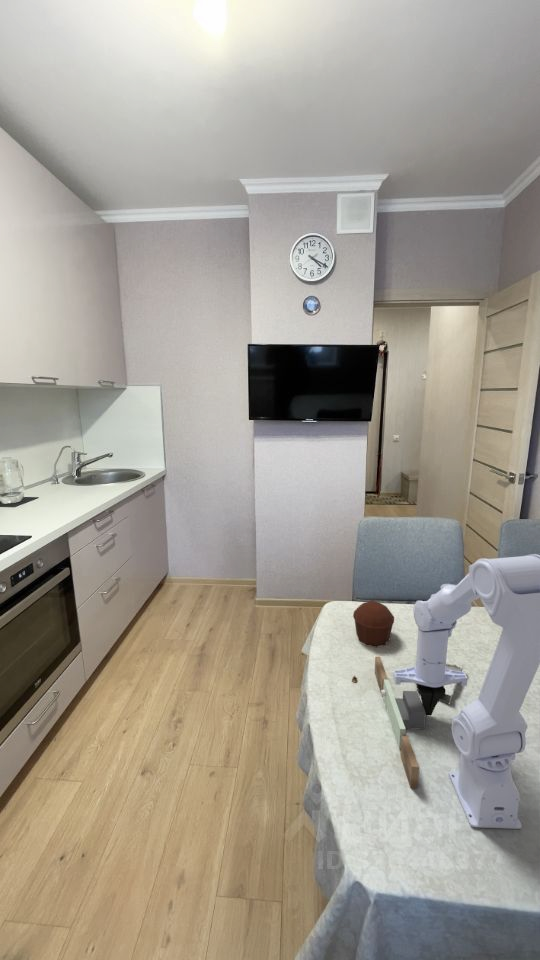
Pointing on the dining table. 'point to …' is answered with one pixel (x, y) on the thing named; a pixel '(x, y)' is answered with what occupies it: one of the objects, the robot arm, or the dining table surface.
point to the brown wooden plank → (406, 748)
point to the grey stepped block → (411, 710)
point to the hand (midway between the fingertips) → (427, 711)
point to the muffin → (373, 623)
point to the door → (393, 712)
